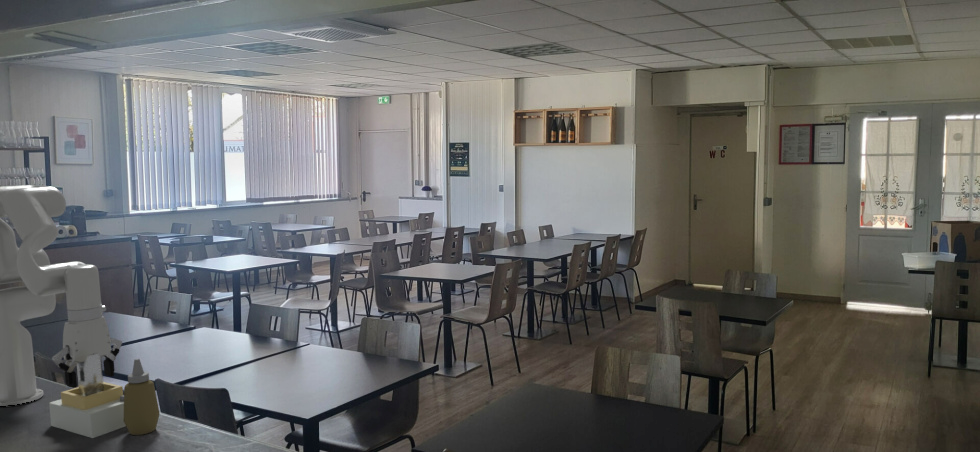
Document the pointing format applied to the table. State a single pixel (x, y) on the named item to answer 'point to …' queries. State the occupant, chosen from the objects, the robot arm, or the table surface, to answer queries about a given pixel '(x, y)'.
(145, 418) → the squeeze bottle
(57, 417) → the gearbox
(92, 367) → the spout can
